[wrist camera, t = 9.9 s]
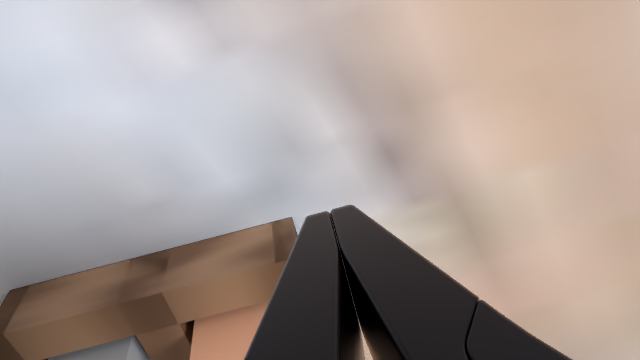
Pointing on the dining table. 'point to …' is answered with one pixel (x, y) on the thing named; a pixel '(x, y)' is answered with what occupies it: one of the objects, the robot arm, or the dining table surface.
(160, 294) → the brown shallow tray
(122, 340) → the key slate
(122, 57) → the dining table surface
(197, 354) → the key terracotta
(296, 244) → the robot arm
